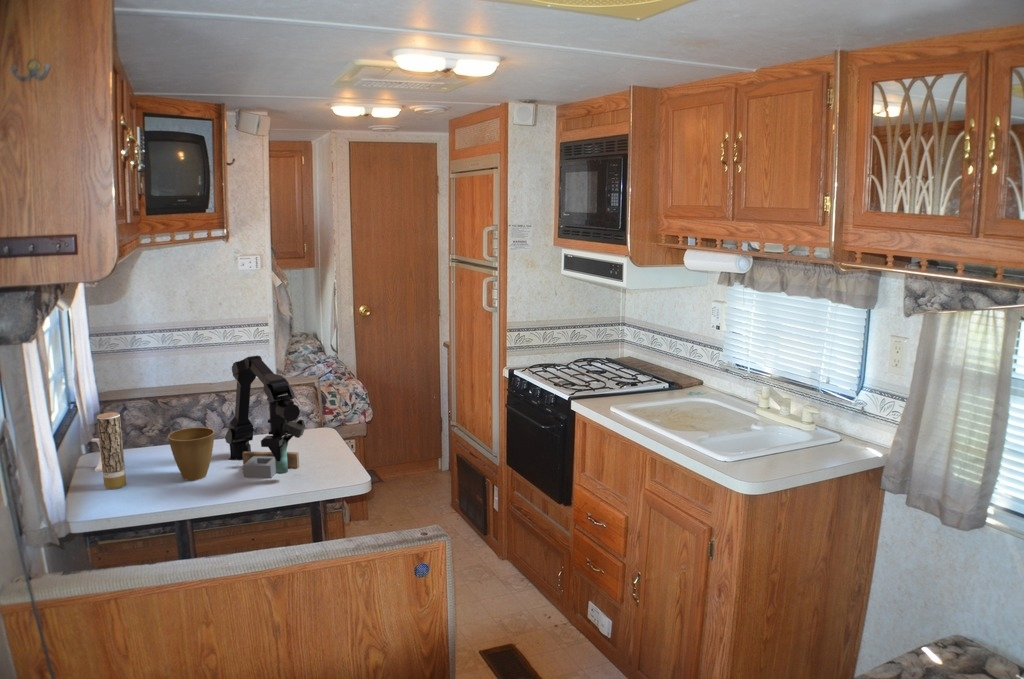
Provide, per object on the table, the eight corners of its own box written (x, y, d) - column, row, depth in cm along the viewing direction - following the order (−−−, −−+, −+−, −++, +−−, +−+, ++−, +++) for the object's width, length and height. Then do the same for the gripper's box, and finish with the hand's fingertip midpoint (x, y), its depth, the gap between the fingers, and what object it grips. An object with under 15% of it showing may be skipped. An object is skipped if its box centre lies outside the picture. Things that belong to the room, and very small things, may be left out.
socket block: (243, 477, 270) (242, 465, 270) (254, 467, 280) (253, 456, 279) (271, 478, 270) (270, 465, 269) (281, 468, 280) (280, 456, 279)
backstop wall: (243, 467, 281) (242, 453, 280) (245, 465, 282) (244, 451, 282) (297, 468, 279) (296, 454, 278) (299, 466, 281) (298, 452, 280)
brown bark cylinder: (111, 491, 258) (104, 418, 254) (100, 487, 262) (92, 416, 257) (130, 485, 264) (124, 414, 260) (119, 481, 267) (112, 411, 263)
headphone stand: (94, 471, 277) (91, 439, 275) (102, 466, 283) (99, 434, 281) (107, 471, 278) (104, 439, 276) (115, 465, 284) (112, 434, 281)
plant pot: (163, 478, 270) (159, 434, 267) (204, 467, 281) (200, 424, 279) (185, 488, 261) (181, 442, 258) (225, 476, 272) (222, 432, 269)
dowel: (274, 473, 264) (272, 442, 263) (278, 469, 268) (276, 439, 266) (285, 474, 264) (283, 443, 262) (289, 470, 268) (287, 439, 266)
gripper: (292, 423, 253) (294, 468, 256) (310, 408, 271) (312, 451, 274) (258, 422, 254) (261, 468, 257) (279, 407, 272) (282, 450, 275)
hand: (281, 459), depth 265 cm, fingers closed on dowel, 4 cm apart
